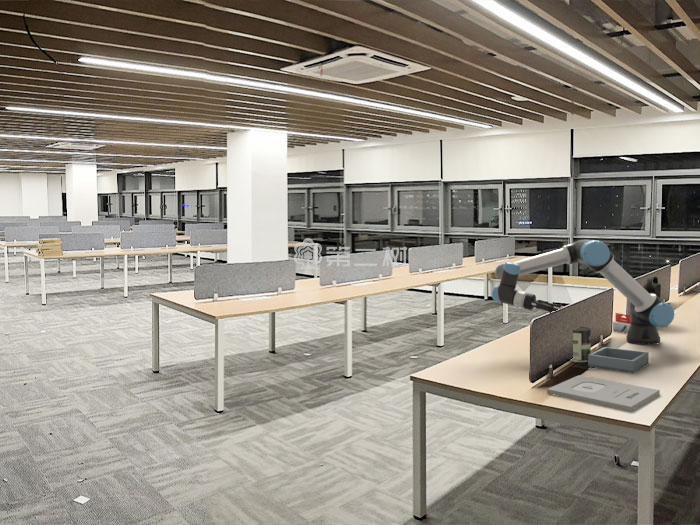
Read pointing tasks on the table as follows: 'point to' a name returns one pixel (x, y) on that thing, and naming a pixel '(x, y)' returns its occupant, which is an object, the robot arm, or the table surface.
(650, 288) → the shoulder bag
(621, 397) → the award plaque
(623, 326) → the ink cartridge box
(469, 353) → the table surface
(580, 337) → the coffee can
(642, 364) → the tray
